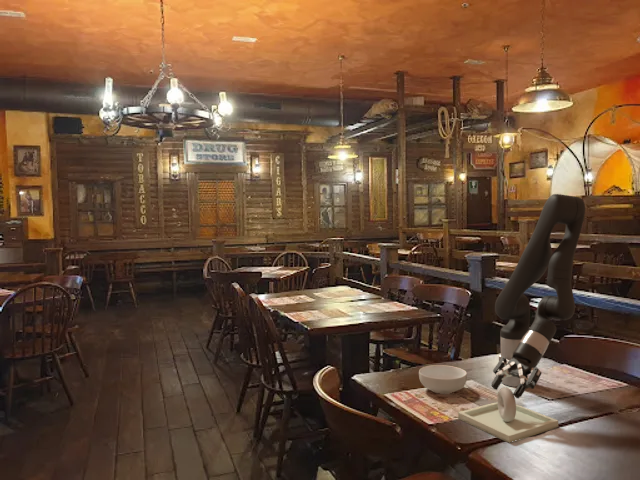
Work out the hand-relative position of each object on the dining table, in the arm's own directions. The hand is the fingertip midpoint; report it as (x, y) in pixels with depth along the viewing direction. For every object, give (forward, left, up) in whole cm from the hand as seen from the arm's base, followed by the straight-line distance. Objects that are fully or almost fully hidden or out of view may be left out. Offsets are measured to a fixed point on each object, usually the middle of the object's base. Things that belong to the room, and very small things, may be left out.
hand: (504, 392), depth 153 cm
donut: (0, 0, -9) cm, 9 cm away
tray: (0, 0, -9) cm, 9 cm away
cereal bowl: (-32, +3, -10) cm, 33 cm away
